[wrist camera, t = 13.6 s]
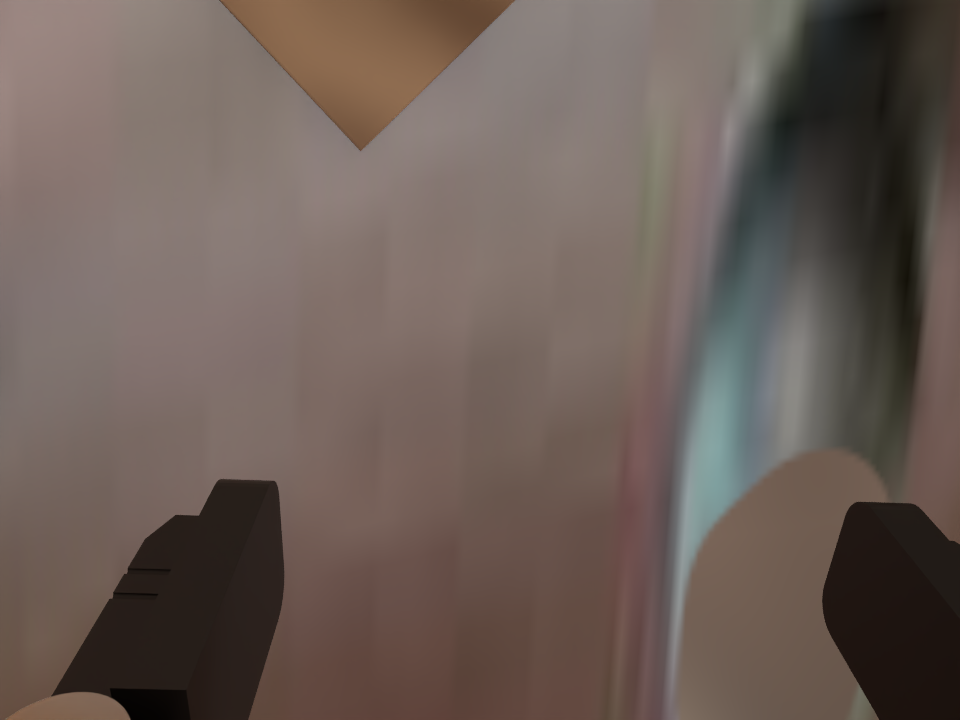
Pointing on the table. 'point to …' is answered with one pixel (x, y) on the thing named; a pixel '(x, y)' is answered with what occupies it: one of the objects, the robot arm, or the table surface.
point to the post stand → (365, 50)
